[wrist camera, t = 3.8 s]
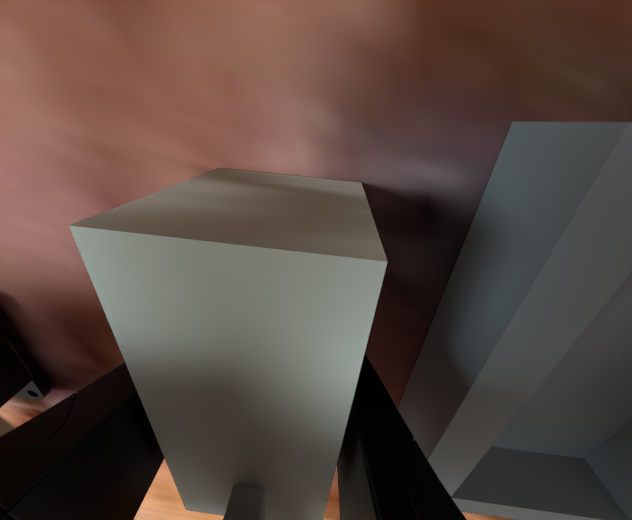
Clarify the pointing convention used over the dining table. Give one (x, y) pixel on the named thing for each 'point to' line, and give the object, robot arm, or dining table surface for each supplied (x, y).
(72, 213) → the dining table surface
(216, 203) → the white block with tab
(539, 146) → the cradle
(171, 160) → the dining table surface
